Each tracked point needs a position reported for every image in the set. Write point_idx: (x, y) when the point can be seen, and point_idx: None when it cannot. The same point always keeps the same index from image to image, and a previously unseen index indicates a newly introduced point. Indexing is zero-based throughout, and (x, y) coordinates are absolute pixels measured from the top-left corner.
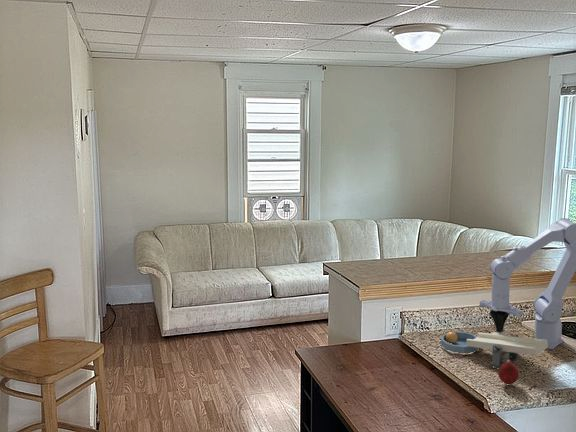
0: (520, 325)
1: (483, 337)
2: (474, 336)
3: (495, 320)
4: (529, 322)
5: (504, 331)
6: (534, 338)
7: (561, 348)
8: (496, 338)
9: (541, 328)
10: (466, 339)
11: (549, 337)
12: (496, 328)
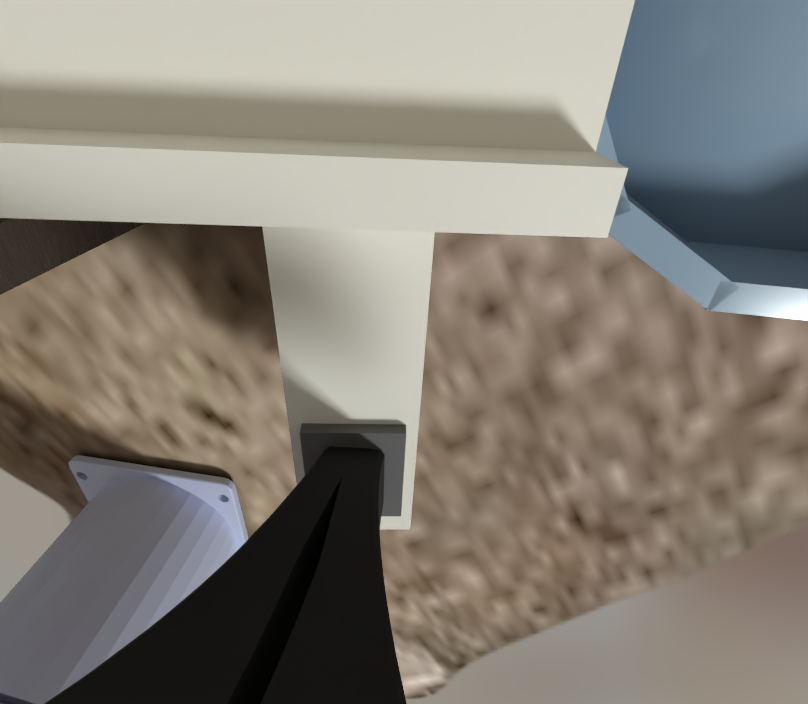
0: (426, 642)
1: (459, 133)
2: (682, 253)
3: (331, 615)
4: (404, 673)
5: (296, 475)
6: (240, 535)
7: (68, 491)
8: (145, 133)
9: (38, 613)
10: (786, 251)
11: (54, 543)
12: (365, 474)
